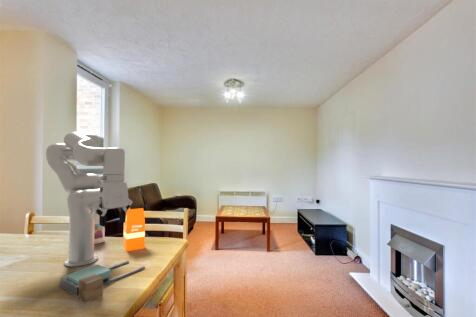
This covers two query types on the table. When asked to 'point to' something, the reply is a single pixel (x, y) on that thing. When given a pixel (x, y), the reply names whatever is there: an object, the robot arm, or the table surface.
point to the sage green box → (90, 273)
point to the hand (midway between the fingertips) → (113, 223)
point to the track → (74, 287)
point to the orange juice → (134, 229)
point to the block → (90, 288)
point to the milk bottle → (98, 229)
